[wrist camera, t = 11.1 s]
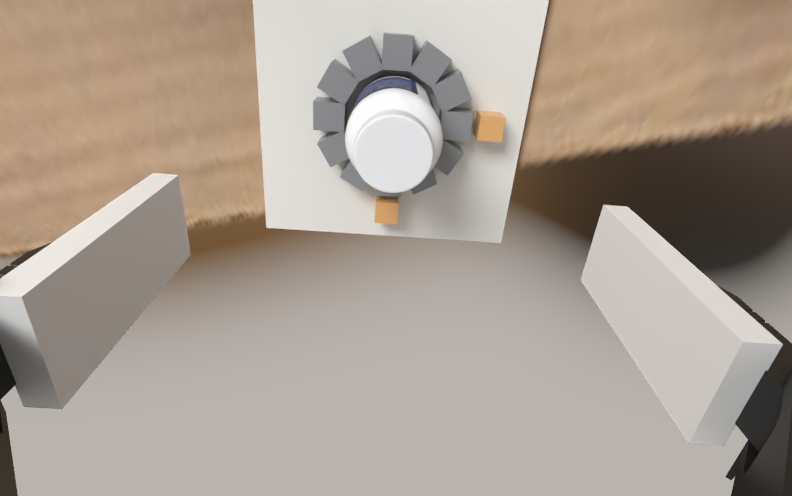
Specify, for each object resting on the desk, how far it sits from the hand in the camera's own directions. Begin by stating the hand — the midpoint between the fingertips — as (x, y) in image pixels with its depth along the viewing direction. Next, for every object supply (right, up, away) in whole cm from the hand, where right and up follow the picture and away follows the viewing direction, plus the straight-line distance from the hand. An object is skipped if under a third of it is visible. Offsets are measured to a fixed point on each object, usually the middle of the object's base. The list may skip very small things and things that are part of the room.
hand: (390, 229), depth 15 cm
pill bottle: (0, +8, +17) cm, 19 cm away
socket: (0, +9, +17) cm, 19 cm away
